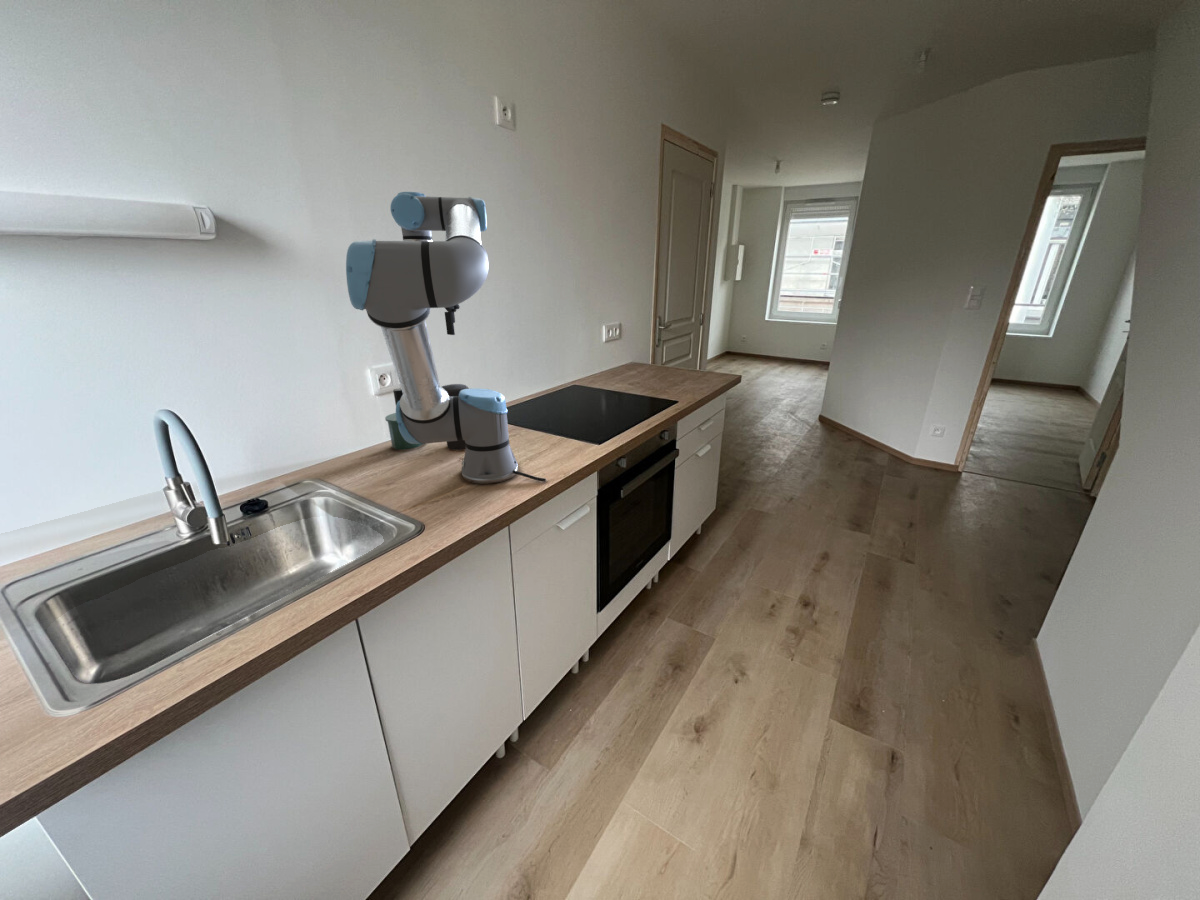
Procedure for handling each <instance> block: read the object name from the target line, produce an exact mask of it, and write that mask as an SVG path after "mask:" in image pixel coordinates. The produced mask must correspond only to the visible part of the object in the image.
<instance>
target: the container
mask: <svg viewBox="0 0 1200 900" xmlns="http://www.w3.org/2000/svg"><path fill="white" fill-rule="evenodd" d="M441 387H442V388H443V389H444V390H445V391H446V392H447V393H448V395H449V397H452V396H459V393H460V391H461V390H464V389H470V387H468V386H467V385H466V384H463V383H451V384H445V385H441ZM446 447H447V449H449V450H452V451H466V445H465V440H459V441H448V442H446Z"/></svg>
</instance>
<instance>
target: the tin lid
mask: <svg viewBox="0 0 1200 900" xmlns="http://www.w3.org/2000/svg"><path fill="white" fill-rule="evenodd" d="M392 392H393V396H394V403H395V406H396V405H397V402H398V401H400V399H401V397H402V395H403V392H402V389H401V387H400V388H395V389H394V388H393V391H392ZM384 419H385V421H386V422H387V423H388V422H392V423H397V419H396V412H393V413H390V414H388V415H386V416H385V417H384Z"/></svg>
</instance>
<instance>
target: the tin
mask: <svg viewBox="0 0 1200 900" xmlns="http://www.w3.org/2000/svg"><path fill="white" fill-rule="evenodd" d="M387 426H388V432H389V437H390V442H391V446H392V449H395V450H412V449H415V448H418V447H420V446H422V445H423V444H411V443H408V442H407V441H405V439H404V438H403V437H402V435H401V433H400V430H399V427H398V423H392V422H387Z"/></svg>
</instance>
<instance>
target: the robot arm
mask: <svg viewBox="0 0 1200 900" xmlns="http://www.w3.org/2000/svg"><path fill="white" fill-rule="evenodd" d="M486 209H487V208H486V202H485V201H484V199H482V198H477V197H471V196H468V197H453V196H452V197H451V196H449V197H448V196H426V195H425V194H424V193H423V192H417V191H401V192H398V193H397V194H396V196H394V197H393V198H392V200H391V203H390V214H391V217H392V219H393V220H394V222H395V223H396V224H397V225H398V227H400V228H401V234H402V240H377V239H376V238H375V239H374V238H373V239H372V240H356V241H353V242H351V243H350V244H349V246H348V248H347V250H346V258H345V274H346V276H345V277H346V286H347V292H348V298H349V301H350V304H351V306H352V307H353V308H354V309H355V310H360V311H364V310H365V311H366V314H367V317H368V318H369V320H370V322H372V323H373V324H374V325H376V326H378V327H379V328H380V329H381V332H382V335H383V339H384V341H385V344H386V347H387V351H388V354H389V356H390V359H391V362H392V365H393V368H394V371H395V374H396V377H397V380H398V383H399V386H400V388H401V389H402V392H403V395H402V397H401V399H400V401H398V402H397V405H396V404H395V413H396V419H397V423H398V427H399V430H400V433H401V435H402V437H403V438H404V439H405V441H407V442H408V443H411V444H422V445H426V444H436V443H447V442H448V441H459V440H465V445H466V450H464V456H463V459H461V460H462V461H461V477H462V478H463V479H464V480H466V481H468V482H469V483H471V484H477V485H490V484H497V483H502V482H505V481H508V480H510V479H511V478H514V477H515V476H516V475H518V476H521V477H525V478H528V479H531V480H535V481H539V482H543V483H544V482H546V481H547V479H546V478H543V477H538V476H534V475H531V474H528V473H525V472H522V471H519V464H518V461H517V459H516V457H515V454H514V452H513V450H512V447H511V445H510V436H509V435H510V434H509V425H508V423H509V422H508V409H507V401H506V398H505V395H504V394H502V393H501V392H499V391H496V390H493V389H489V388H480V387H479V388H478V387H473V388H472V387H471V388H470V387H469V389H464V390H461V391H460V393H459V396H452V397H449V395H448V393H447V392H446V391H445V390H444V389H443V388H442V386H441V383H440V380H439V374H438V370H437V366H436V361H435V357H434V353H433V349H432V345H431V339H430V336H429V332H428V331H429V330H428V327H427V323H426V320H428V319H427V318H428V317H429V316H430V314H431V309H442V308H443V309H445V310H446V311H444V319H445V327H446V328H445V329H446V335H450V336H455V335H456V333H455V325H454V324H456V317H455V316H456V315H455V313H457V310H460V304H462V303H464V302H465V301H467V300H469V299H470V298H471V297H473V296H474V295H475V294H476V293H477V292H478V291H479V290H480V289H481V288H482V286H483V285H484V283H485V282H486V280H487V277H488V275H489V269H490V267H489V265H490V264H489V263H490V261H489V256H488V253H487V250H486V249H485V247H484V246H483V244H482V237H481V232H485V231H487V229H488V220H487V210H486ZM432 231H433V232H445V238H444V240H433V235H432V234H433V233H432Z"/></svg>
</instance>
